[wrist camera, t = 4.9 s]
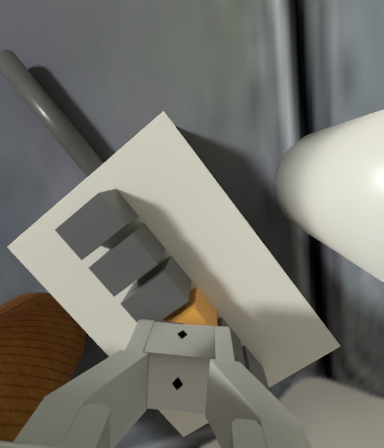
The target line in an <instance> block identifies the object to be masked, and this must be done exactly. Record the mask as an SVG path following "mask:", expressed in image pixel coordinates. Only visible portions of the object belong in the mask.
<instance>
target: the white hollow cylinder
mask: <svg viewBox="0 0 384 448" xmlns="http://www.w3.org/2000/svg"><path fill="white" fill-rule="evenodd" d="M274 190H275V197H276V200H277V203H278V206H279V208H280V210H281V211H282V213H283V214H284V216H285V217H286V218H287V219H288V220H289V221H290V222H291V223H293V224H294V225H296V226H297V227H299V228H300V229H302V230H303V231H305V232H306V233H308V234H310V235H311V236H313V237H314V238H316V239H317V240H319V241H320V242H322V243H323V244H325V245H327V246H328V247H330V248H331V249H333V250H334V251H336V252H337V253H339V254H340V255H342V256H343V257H345V258H347V259H348V260H350V261H351V262H353V263H354V264H356V265H357V266H359V267H360V268H362V269H363V270H365V271H367V272H368V273H370V274H371V275H373V276H374V277H376V278H377V279H379V280H380V281H382V282H384V110H380V111H377V112H374V113H371V114H368V115H365V116H362V117H359V118H356V119H353V120H350V121H347V122H344V123H341V124H338V125H334V126H331V127H328V128H325V129H322V130H319V131H316V132H313V133H311V134H309V135H307V136H305V137H303V138H301V139H300V140H298V141H297V142H296V143H295V144H294V145H292V146H291V148H290V149H289V150H288V151H287V152H286V154H285V155H284V156H283V158H282V160H281V162H280V163H279V166H278V168H277V172H276V176H275V183H274Z"/></svg>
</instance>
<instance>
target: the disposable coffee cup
mask: <svg viewBox="0 0 384 448" xmlns="http://www.w3.org/2000/svg"><path fill="white" fill-rule="evenodd" d="M86 337H87V336H86V331H85V330H84V329H83V328H82V327H81V326H80V325H79V324H78V323H77V322H76V321H75V320H74V319H73V317H72V316H71V315H70V314H69V313H68V312H67V311H66V310H65V309H64V308H63V307H62V306H61V305H60V303H59V302H58V301H57V300H56V299H55V298H54V297H53V296H52V295H49V294H44V293H28V294H24V295H21V296H19V297H16V298H14V299H13V300H11V301H9V302H7V303H5V304H3V305H1V306H0V440H1V441H10V442H13V441H14V440H15V438H16V437H17V436H18V434H19V433H20V431H21V430H22V429H23V427H24V426H25V424H26V423H27V421H28V420H29V419H30V417H31V416H32V414H33V413H34V412H35V410H36V409H37V407H38V406H39V405H40V403H41V402H42V400H43V399H44V397H45V396H47V395H49V394H50V393H52V392H53V391H55V390H57V389H58V388H60V387H61V386H63V385H65V384H66V383H68V382H70V380H71V378H72V375H73V373H74V371H75V369H76V367H77V365H78V363H79V360H80V359H81V357H82V355H83V353H84V350H85V347H86Z"/></svg>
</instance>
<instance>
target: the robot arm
mask: <svg viewBox="0 0 384 448" xmlns="http://www.w3.org/2000/svg"><path fill="white" fill-rule="evenodd" d="M146 408H147V409H161V410H175V411H182V412H190V413H197V414H204V415H205V417H206V419H207V421H208V423H209V425H210V427H211V429H212V431H213V432H214V434H215V436H216V438H217V440H218V442H219V444H220V446H221V447H222V448H311V445H310V443H309V440H308V437H307V435H306V432H305V430H304V427H303V425H302V423H301V422H300V421H299V420H298V419H297V418H296V417H295V416H294V415H293V414H292V413H291V412H290V411H289V410H288V409H287V408H286V407H285V406H284V405H283V404H282V403H281V402H280V401H279V400H278V399H277V398H276V397H275V396H274V395H273V394H272V393H271V392H270V391H269V390H268V389H267V388H266V387H265V386H264V385H263V384H262V383H261V382H260V381H259V380H258V379H256V378H255V377H254V376H253V375H252V374H251V373H250V372H249V371H248V370H247V369H246V368H245V367H244V366H243V365H242V364H241V363H240V362H237V361H235V358H234V352H233V345H232V339H231V332H230V328H229V327H226V326H206V325H192V324H184V323H175V322H167V321H158V320H155V321H154V320H149V319H139V320H138V322H137V324H136V326H135V329H134V331H133V333H132V335H131V337H130V340H129V342H128V344H127V346H126V349H125V351H124V350H120V351H118V352H116V353H115V354H113V355H112V356H110V357H108V358H107V359H105V360H103V361H102V362H100V363H99V364H97V365H95V366H94V367H92V368H91V369H89V370H87V371H86V372H84V373H82V374H81V375H79V376H78V377H76V378H74V379H73V380H71V381H70V382H68V383H66V384H65V385H63V386H61V387H60V388H58V389H57V390H55V391H53V392H52V393H50V394H49V395H47V396H45V397H44V399H43V400H42V402H41V403H40V405H39V406H38V407H37V409H36V410H35V412H34V413H33V414H32V416H31V417H30V419H29V420H28V421H27V423H26V424H25V426H24V427H23V429H22V430H21V431H20V433H19V434H18V436H17V437H16V438H15V440H14V441H13V442H10V441H1V440H0V448H114V447H115V446H116V445H117V443H118V442H119V441H120V440H121V439H122V438H123V437H124V435H125V434H126V433H127V432H128V431H129V430H130V429H131V427H132V426H133V425H134V424H135V423H136V422H137V420H138V419H139V418H140V417H141V416H142V415H143V414H144V412H145V411H146Z"/></svg>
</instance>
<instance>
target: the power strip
mask: <svg viewBox="0 0 384 448" xmlns="http://www.w3.org/2000/svg"><path fill="white" fill-rule="evenodd" d="M0 73H1V74H2V75H3V76H4V77H5V79H6V80H7V81H8V82H9V83H10V85H11V86H12V87H13V88H14V89H15V91H16V92H17V93H18V94H19V95H20V97H21V98H22V99H23V100H24V101H25V103H26V104H27V105H28V106H29V107H30V109H31V110H32V111H33V112H34V113H35V115H36V116H37V117H38V118H39V119H40V121H41V122H42V123H43V124H44V125H45V127H46V128H47V129H48V130H49V131H50V133H51V134H52V135H53V136H54V137H55V138H56V140H57V141H58V142H59V143H60V144H61V146H62V147H63V148H64V149H65V150H66V152H67V153H68V154H69V155H70V156H71V158H72V159H73V160H74V161H75V162H76V164H77V165H78V166H79V167H80V168H81V170H82V171H83V172H84V173H85V174H86V176H87V178H86V179H85V180H84V181H83V182H81V183H80V184H79V185H78V186H77V187H76V188H74V189H73V190H72V191H71V192H70V193H69V194H68V195H66V196H65V197H64V198H63V199H62V200H61V201H59V202H58V203H57V204H56V205H55V206H54V207H53V208H51V209H50V210H49V211H48V212H47V213H46V214H44V215H43V216H42V217H41V218H40V219H39V220H38V221H36V222H35V223H34V224H33V225H32V226H31V227H30V228H28V229H27V230H26V231H25V232H24V233H23V234H21V235H20V236H19V237H18V238H17V239H16V240H15V241H13V242H12V243H11V244H10V245H9V246H8V249H9V250H10V251H11V252H12V253H13V254H14V255H15V256H16V257H17V258H18V259H19V260H20V261H21V263H22V264H23V265H24V266H25V267H26V268H27V269H28V270H29V271H30V272H31V273H32V274H33V275H34V277H35V278H36V279H37V280H38V281H39V282H40V283H41V284H42V285H43V286H44V287H45V288H46V289H47V291H48V292H49V293H50V294H51V295H52V296H53V297H54V298H55V299H56V300H57V301H58V302H59V303H60V305H61V306H62V307H63V308H64V309H65V310H66V311H67V312H68V313H69V314H70V315H71V316H72V317H73V319H74V320H75V321H76V322H77V323H78V324H79V325H80V326H81V327H82V328H83V329H84V330H85V331H86V333H87V334H88V335H89V336H90V337H91V338H92V339H93V340H94V341H95V342H96V343H97V344H98V345H99V347H100V348H101V349H102V350H103V351H104V352H105V353H106V354H107V355H108V356H109V357H110V356H112V355H113V354H115V353H116V352H118V351H120V350H124V351H125V349H126V346H127V344H128V342H129V340H130V337H131V335H132V333H133V331H134V329H135V326H136V324H137V322H138V320H139V319H149V320H154V321H155V320H158V321H167V322H175V323H184V324H192V325H206V326H226V327H229V328H230V332H231V339H232V345H233V352H234V358H235V361H237V362H240V363H241V364H242V365H243V366H244V367H245V368H246V369H247V370H248V371H249V372H250V373H251V374H252V375H253V376H254V377H255V378H256V379H258V380H259V381H260V382H261V383H262V384H263V385H264V386H265V387H266V388H267V389H268V390H269V387H271V386H273V385H275V384H276V383H278V382H280V381H281V380H283V379H285V378H287V377H288V376H290V375H292V374H294V373H295V372H297V371H299V370H300V369H302V368H304V367H306V366H307V365H309V364H311V363H313V362H314V361H316V360H318V359H319V358H321V357H323V356H325V355H326V354H328V353H330V352H332V351H333V350H335V349H337V348H338V347H340V345H339V343H338V342H337V341H336V339H335V338H334V337H333V335H332V334H331V333H330V331H329V330H328V329H327V327H326V326H325V325H324V323H323V322H322V321H321V319H320V318H319V317H318V315H317V314H316V313H315V311H314V310H313V309H312V307H311V306H310V305H309V303H308V302H307V301H306V299H305V298H304V297H303V296H302V294H301V293H300V292H299V290H298V289H297V288H296V286H295V285H294V284H293V282H292V281H291V280H290V278H289V277H288V276H287V274H286V273H285V272H284V270H283V269H282V268H281V266H280V265H279V264H278V262H277V261H276V260H275V258H274V257H273V256H272V254H271V253H270V252H269V250H268V249H267V248H266V246H265V245H264V244H263V242H262V241H261V240H260V238H259V237H258V236H257V234H256V233H255V232H254V230H253V229H252V228H251V226H250V225H249V224H248V222H247V221H246V220H245V218H244V217H243V216H242V214H241V213H240V212H239V210H238V209H237V208H236V207H235V205H234V204H233V203H232V201H231V200H230V199H229V197H228V196H227V195H226V193H225V192H224V191H223V189H222V188H221V187H220V185H219V184H218V183H217V181H216V180H215V179H214V177H213V176H212V175H211V173H210V172H209V171H208V169H207V168H206V167H205V165H204V164H203V163H202V161H201V160H200V159H199V157H198V156H197V155H196V153H195V152H194V151H193V149H192V148H191V147H190V145H189V144H188V143H187V141H186V140H185V139H184V137H183V136H182V135H181V133H180V132H179V131H178V129H177V128H176V127H175V125H174V124H173V123H172V122H171V120H170V119H169V118H168V116H167V115H166V114H165V112H164V111H163V112H162V113H161V114H160V115H159V116H157V117H156V118H155V119H154V120H153V121H152V122H150V123H149V124H148V125H147V126H146V127H145V128H144V129H142V130H141V131H140V132H139V133H138V134H137V135H136V136H134V137H133V138H132V139H131V140H130V141H129V142H127V143H126V144H125V145H124V146H123V147H122V148H121V149H119V150H118V151H117V152H116V153H115V154H114V155H112V156H111V157H110V158H109V159H108V160H107V161H106V162H104V163H103V161H102V160H101V159H100V158H99V156H98V155H97V154H96V153H95V152H94V150H93V149H92V148H91V147H90V145H89V144H88V143H87V142H86V140H85V139H84V138H83V137H82V136H81V134H80V133H79V132H78V131H77V129H76V128H75V127H74V126H73V125H72V123H71V122H70V121H69V120H68V118H67V117H66V116H65V115H64V114H63V112H62V111H61V110H60V109H59V107H58V106H57V105H56V104H55V103H54V101H53V100H52V99H51V98H50V96H49V95H48V94H47V93H46V91H45V90H44V89H43V88H42V87H41V85H40V84H39V83H38V82H37V80H36V79H35V78H34V77H33V76H32V74H31V73H30V72H29V71H28V69H27V68H26V67H25V66H24V65H23V63H22V62H21V61H20V60H19V58H18V57H17V56H16V55H15V54H14V52H12V51H9V50H4V51H1V52H0ZM269 391H270V390H269ZM158 410H159V411H160V412H161V413H162V414H163V415H164V417H165V418H166V419H167V420H168V421H169V422H170V423H171V424H172V425H173V426H174V427H175V428H176V429H177V430H178V432H179V433H180V434H181V435H182V436H183V437H185V436H186V435H188V434H190V433H192V432H193V431H195V430H197V429H198V428H200V427H202V426H204V425H205V424H207V423H208V421H207V419H206V417H205V415H204V414H197V413H190V412H182V411H175V410H161V409H158Z"/></svg>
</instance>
